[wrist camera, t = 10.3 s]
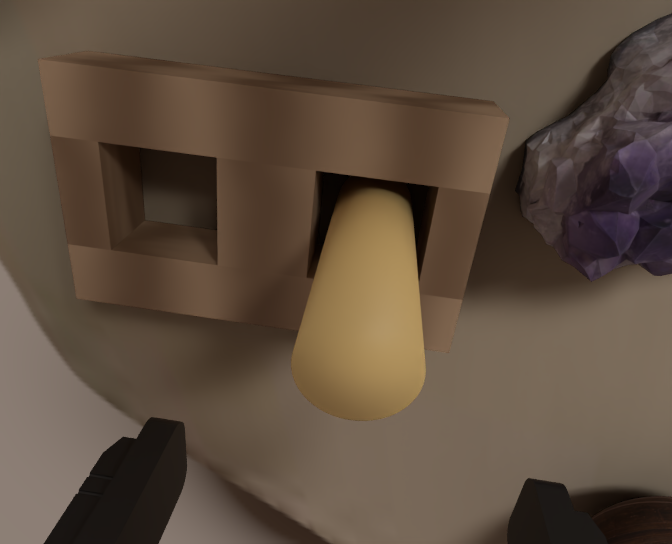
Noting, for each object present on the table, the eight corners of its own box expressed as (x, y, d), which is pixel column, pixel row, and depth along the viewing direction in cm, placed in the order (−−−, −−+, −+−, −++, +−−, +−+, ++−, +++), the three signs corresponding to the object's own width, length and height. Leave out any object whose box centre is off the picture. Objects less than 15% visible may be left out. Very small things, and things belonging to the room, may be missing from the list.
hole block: (493, 101, 25) (509, 118, 21) (442, 311, 30) (448, 353, 27) (87, 50, 25) (37, 59, 22) (112, 264, 31) (76, 298, 28)
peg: (417, 173, 27) (437, 324, 14) (405, 243, 28) (413, 429, 16) (341, 163, 27) (295, 304, 14) (333, 233, 29) (287, 410, 16)
